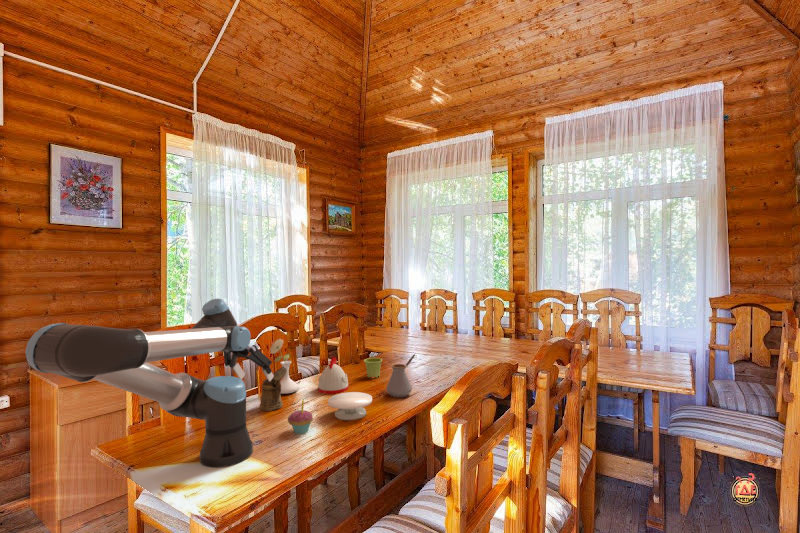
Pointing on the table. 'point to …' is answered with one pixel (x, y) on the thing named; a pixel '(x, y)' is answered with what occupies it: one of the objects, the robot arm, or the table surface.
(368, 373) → the plant pot
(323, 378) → the kitchen timer
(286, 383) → the flower in vase
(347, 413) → the cake stand
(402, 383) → the coffee pot
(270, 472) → the table surface
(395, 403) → the table surface
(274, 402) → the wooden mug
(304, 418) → the cupcake
